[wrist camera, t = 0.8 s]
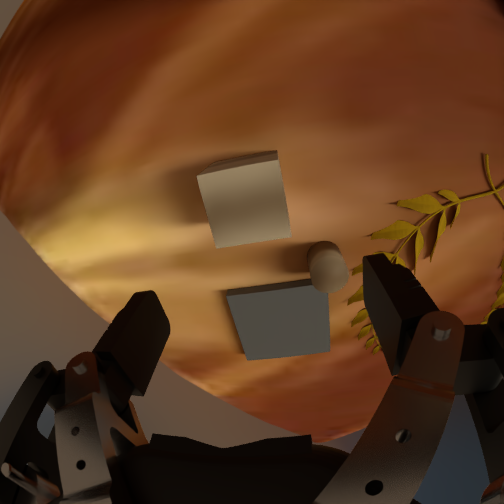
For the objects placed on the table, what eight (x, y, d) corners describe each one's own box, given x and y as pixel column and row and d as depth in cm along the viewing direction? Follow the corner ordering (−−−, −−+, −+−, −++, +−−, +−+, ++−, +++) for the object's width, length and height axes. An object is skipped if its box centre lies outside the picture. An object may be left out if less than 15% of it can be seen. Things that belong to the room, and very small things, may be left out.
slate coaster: (227, 289, 31) (226, 296, 30) (325, 276, 29) (327, 282, 28) (248, 353, 36) (247, 360, 35) (328, 344, 34) (330, 351, 33)
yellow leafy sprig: (380, 115, 21) (322, 350, 35) (387, 116, 20) (324, 359, 34) (551, 192, 20) (486, 342, 34) (558, 196, 19) (490, 348, 33)
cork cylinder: (305, 243, 28) (309, 263, 24) (339, 238, 27) (348, 257, 24) (308, 273, 29) (312, 295, 26) (341, 268, 29) (349, 289, 25)
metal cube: (213, 162, 25) (196, 175, 19) (277, 150, 24) (278, 159, 18) (227, 221, 27) (216, 248, 22) (288, 211, 26) (291, 236, 21)
